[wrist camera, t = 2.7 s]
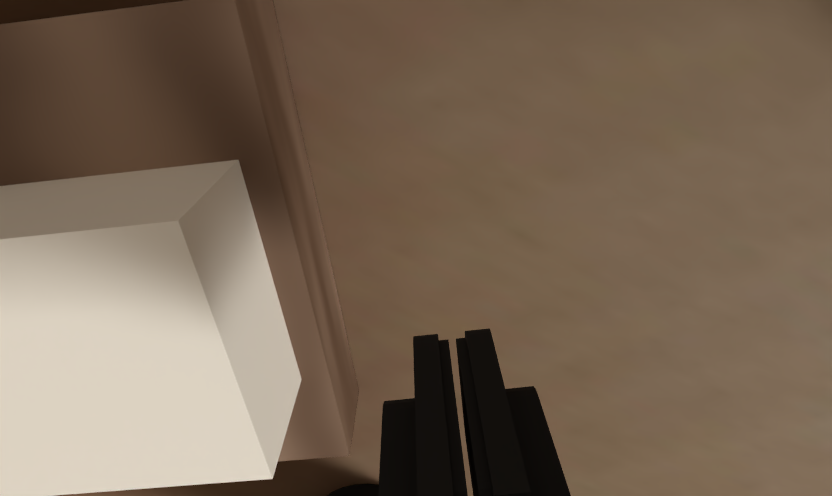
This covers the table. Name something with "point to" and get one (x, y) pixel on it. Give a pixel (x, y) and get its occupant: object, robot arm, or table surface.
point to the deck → (190, 152)
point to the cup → (357, 490)
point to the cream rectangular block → (138, 334)
